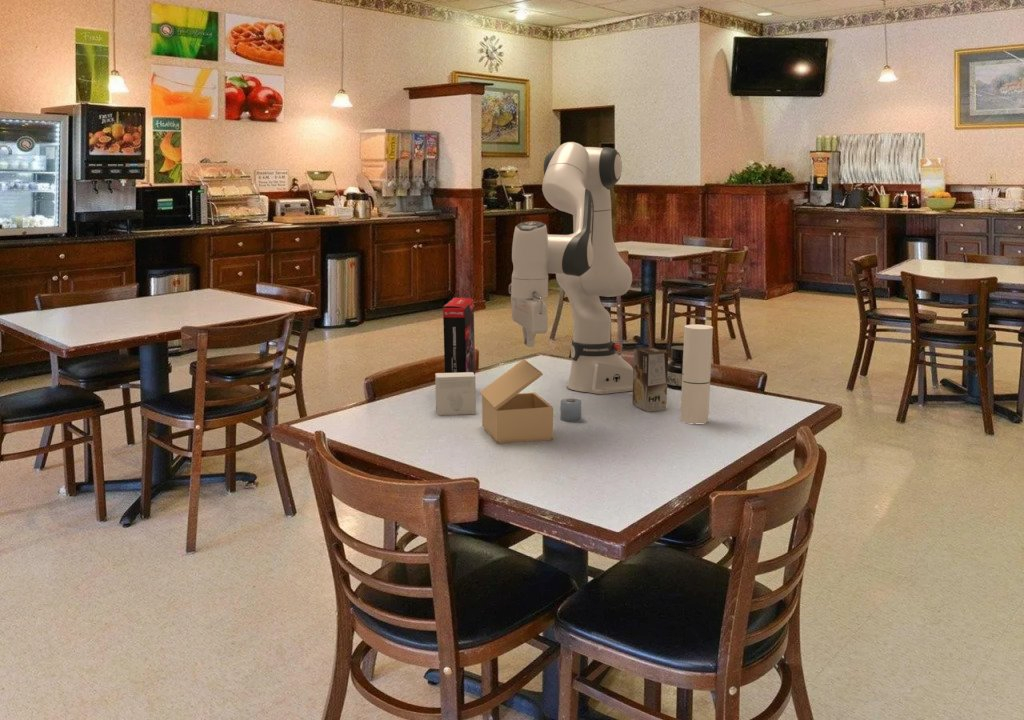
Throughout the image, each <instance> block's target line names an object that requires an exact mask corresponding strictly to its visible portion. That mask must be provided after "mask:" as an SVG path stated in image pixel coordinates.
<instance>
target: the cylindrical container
mask: <svg viewBox="0 0 1024 720" xmlns="http://www.w3.org/2000/svg"><path fill="white" fill-rule="evenodd" d="M683 327H684V328H683V329H684V331H683V346H684V348H683V371H682V389H681V395H680V396H681V397H680V401H681V402H680V417H679V418H680V419H679V420H680V422H681V421H682V422H681V423H683V422H685V423H684V424H686V423H693V424H696V423H705V422H707V421H708V422H709V413H710V412H709V411H710V409H709V408H710V392H711V391H710V390H711V374H712V373H711V370H712V355H713V354H712V351H713V349H712V348H713V334H714V332H713V331H714V327H713V326H712V325H708V324H698V323H697V324H695V323H694V324H686V325H684V326H683ZM693 424H692V425H693Z"/></svg>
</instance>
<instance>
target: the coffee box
mask: <svg viewBox="0 0 1024 720" xmlns="http://www.w3.org/2000/svg"><path fill="white" fill-rule="evenodd" d="M668 363H669V352H667V351H664V350H661V349H659V348H657V347H653V346H651V347H650V346H648V347H640V348H639V347H637V348H633V366H632V368H633V391H632V403H631V404H632V405H633V406H634V407H637V408H639V409H641V410H643V411H645V412H647V413H649V412H659V411H660V412H661V411H666V410H667V403H668V402H667V400H668V397H667V395H668V387H667V377H668Z"/></svg>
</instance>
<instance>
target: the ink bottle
mask: <svg viewBox="0 0 1024 720" xmlns="http://www.w3.org/2000/svg"><path fill="white" fill-rule="evenodd" d="M683 348H684V345H673V346H671V347H670V360H671V361H669V362H668V377H667V388H669V389H674V390H682V371H683Z"/></svg>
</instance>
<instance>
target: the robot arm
mask: <svg viewBox="0 0 1024 720" xmlns="http://www.w3.org/2000/svg"><path fill="white" fill-rule="evenodd" d="M622 171H623V162H622V159H621V154H620V153H619V151H618V150H617V149H615V148H612V147H605V146H604V147H595V146H583V145H582V144H580V143H578V142H575V141H567V142H564V143H562V144H561V145H559V147H557V149H555V150H552V151H549V152H548V154H547V155H546V156H545V158H544V160H543V175H544V176H543V180H542V185H541V186H542V187H541V191H542V194H543V196H544V198H545V200H546V201H547V202H548V204H550V205H551V206H552V207H553V208H554V209H557V210H558V211H560V212H565V213H566V214H570V215H572V219H573V220H572V222H573V223H572V224H573V233H570V234H549V233H548V227H547V224H546V223H544V222H540V221H533V220H531V221H523V222H520V223H518V224H517V225H515V227H514V230H513V231H514V232H513V238H512V245H511V262H512V265H513V270H512V274H511V282H510V284H509V285H508V293H509V294H510V307H511V318H512V320H513V322H514V323H516V325H519V326H521V328H522V334H523V344H524V345H525V346H526V347H528V348H533V347H534V346H535V339H536V335H537V334H538V335H539V334H541V335H542V334H547V331H548V327H549V326H548V325H549V323H548V317H549V316H548V305H547V302H546V301H545V300H543V299H546V298H548V297H549V274H552V275H553V274H555V278H556V282H557V284H558V286H560V287H561V289H562V290H563V291H564V293H565V295H566V297H567V299H568V302H569V304H570V305H569V306H570V307H571V308H570V309H571V312H572V326H573V329H572V333H573V336H572V337H573V338H572V340H571V345H570V346H571V347H570V356H571V366H570V374H569V377H568V381H567V383H566V384H567V385H566V387H567V388H568V389H569V390H572V391H577V392H584V393H592V394H595V395H605V394H614V393H616V394H617V393H623V392H624V393H625V392H633V366H632V365H631V364H630V363H629V362H627V361H626V360H625V359H624V358H623V357H621V355H619V354H618V353H617V352H620V351H621V350H622V348H623V346H622V344H620V343H616V342H613V341H612V340H611V336H612V335H611V333H612V332H611V331H612V329H611V328H612V317H611V314H610V312H609V311H608V310H607V308H605V307H604V306H603V304H602V302H601V298H600V297H606V298H610V297H611V298H612V297H613V298H614V297H621V296H623V295H625V294H627V292H628V291H629V289H630V288H631V285H632V283H633V273H632V270H631V267H630V266H629V264H627V263H626V262H625V260H624V259H623V258H622V257H621V255H620V254H619V251H618V249H617V246H616V244H615V241H614V235H613V225H612V223H613V222H612V200H611V199H612V198H611V191H610V189H612V187H614V186H615V185H616V184H617V183H618V182H619V180H620V178H621V177H622V176H621V175H622Z"/></svg>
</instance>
